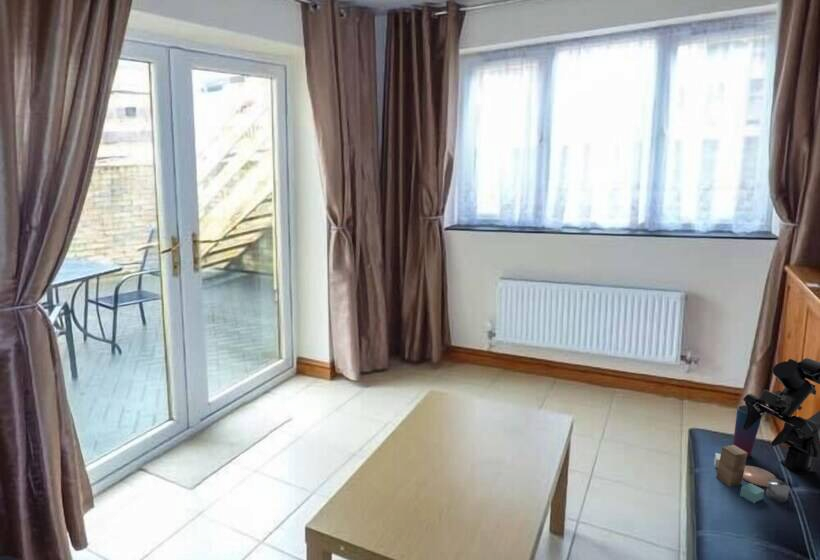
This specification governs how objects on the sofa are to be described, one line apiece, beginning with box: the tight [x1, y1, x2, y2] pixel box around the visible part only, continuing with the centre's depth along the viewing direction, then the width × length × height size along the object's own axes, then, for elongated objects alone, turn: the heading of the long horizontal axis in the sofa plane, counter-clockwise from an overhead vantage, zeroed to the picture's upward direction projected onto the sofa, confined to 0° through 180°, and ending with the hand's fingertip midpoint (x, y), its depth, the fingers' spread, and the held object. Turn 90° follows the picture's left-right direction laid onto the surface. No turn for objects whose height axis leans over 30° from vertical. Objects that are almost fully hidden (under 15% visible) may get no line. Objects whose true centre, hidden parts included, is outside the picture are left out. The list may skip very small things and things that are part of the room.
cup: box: [732, 404, 764, 458], centre depth 176 cm, size 7×7×15 cm
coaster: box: [742, 465, 778, 488], centre depth 165 cm, size 10×10×1 cm
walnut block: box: [716, 444, 748, 487], centre depth 161 cm, size 4×4×10 cm
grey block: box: [713, 452, 721, 469], centre depth 170 cm, size 4×4×3 cm
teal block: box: [739, 482, 766, 504], centre depth 155 cm, size 4×4×3 cm
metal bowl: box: [765, 478, 791, 503], centre depth 156 cm, size 5×5×4 cm
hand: (757, 437), depth 162 cm, fingers open, 9 cm apart
